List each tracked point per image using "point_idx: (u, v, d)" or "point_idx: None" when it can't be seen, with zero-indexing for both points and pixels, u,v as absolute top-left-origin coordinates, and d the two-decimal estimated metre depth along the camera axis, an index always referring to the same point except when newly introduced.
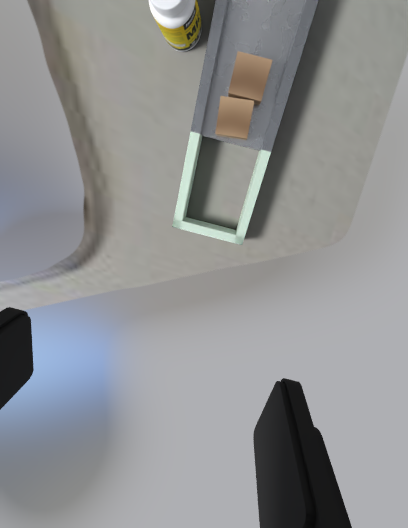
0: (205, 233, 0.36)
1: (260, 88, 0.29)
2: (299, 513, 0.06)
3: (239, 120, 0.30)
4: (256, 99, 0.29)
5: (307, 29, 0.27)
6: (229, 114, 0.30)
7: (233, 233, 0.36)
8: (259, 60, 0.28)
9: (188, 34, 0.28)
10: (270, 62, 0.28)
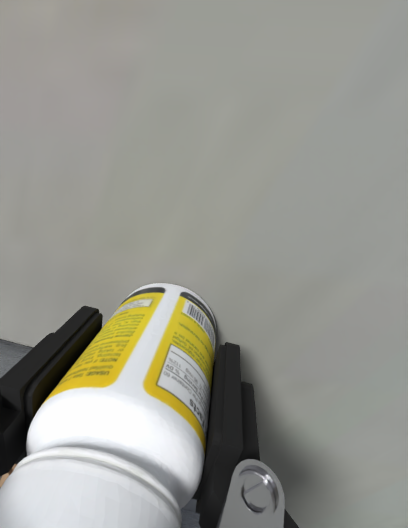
0: None
1: None
2: (211, 438, 0.07)
3: None
4: None
5: None
6: None
7: None
8: None
9: None
10: None
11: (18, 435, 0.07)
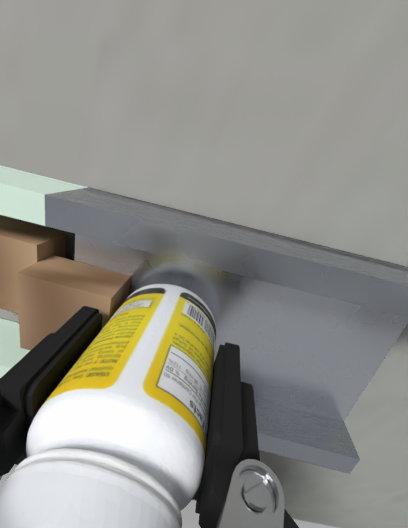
0: None
1: None
2: (212, 438, 0.07)
3: None
4: (22, 337, 0.12)
5: (277, 452, 0.13)
6: (0, 262, 0.12)
7: None
8: None
9: None
10: None
11: (18, 435, 0.07)
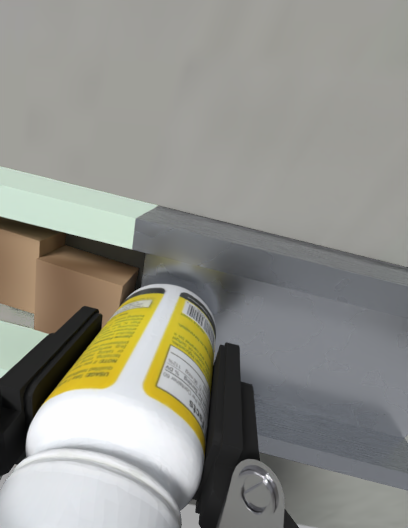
0: None
1: (56, 328, 0.12)
2: (211, 438, 0.07)
3: None
4: (36, 319, 0.12)
5: (345, 471, 0.13)
6: (1, 257, 0.11)
7: None
8: None
9: None
10: None
11: (18, 435, 0.07)
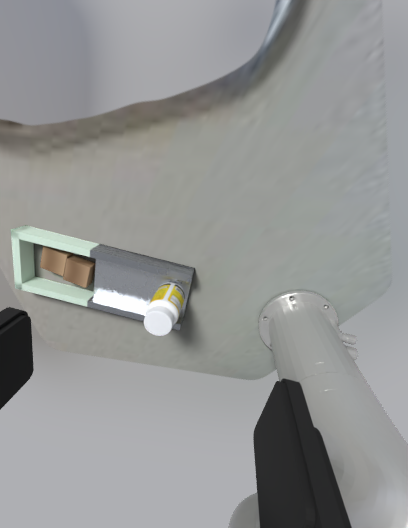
0: (14, 259, 0.40)
1: (70, 279, 0.42)
2: (299, 513, 0.06)
3: (51, 264, 0.41)
4: (64, 276, 0.42)
5: None
6: (55, 258, 0.41)
7: (24, 280, 0.42)
8: (85, 280, 0.42)
9: None
10: (84, 286, 0.42)
11: None
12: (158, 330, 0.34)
